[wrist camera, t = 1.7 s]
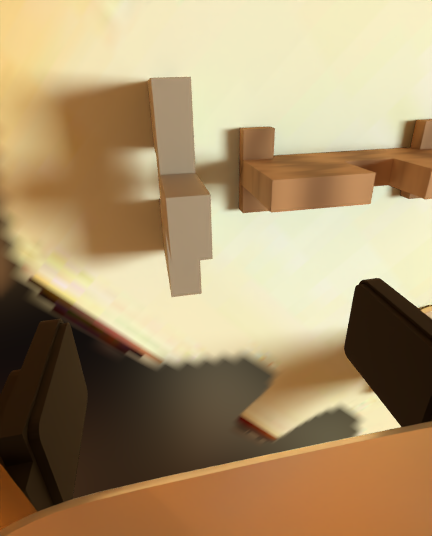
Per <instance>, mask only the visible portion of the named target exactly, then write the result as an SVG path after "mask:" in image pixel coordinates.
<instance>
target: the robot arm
mask: <svg viewBox="0 0 432 536" xmlns="http://www.w3.org/2000/svg"><path fill="white" fill-rule="evenodd" d="M344 350H345V354H346V356H347V358H348V359H349V360H350V361H351V363H352V364H353V365H354V367H355V368H356V369H357V370H358V372H359V373H360V374H361V376H362V377H363V378H364V379H365V381H366V382H367V383H368V385H369V386H370V387H371V388H372V390H373V391H374V392H375V393H376V395H377V396H378V397H379V399H380V400H381V401H382V402H383V404H384V405H385V406H386V408H387V409H388V410H389V411H390V413H391V414H392V415H393V416H394V418H395V419H396V420H397V422H398V423H399V424H400V425H401V427H400V428H395V429H390V430H385V431H380V432H375V433H370V434H365V435H360V436H356V437H351V438H346V439H341V440H336V441H331V442H327V443H322V444H317V445H313V446H307V447H303V448H298V449H293V450H288V451H284V452H279V453H274V454H269V455H264V456H259V457H255V458H250V459H245V460H241V461H236V462H231V463H227V464H222V465H218V466H213V467H208V468H203V469H199V470H194V471H189V472H185V473H180V474H175V475H171V476H166V477H162V478H157V479H153V480H148V481H144V482H140V483H135V484H131V485H127V486H122V487H118V488H114V489H110V490H105V491H101V492H97V493H94V494H90V495H86V496H83V497H79V498H76V499H73V493H74V485H75V479H76V473H77V466H78V459H79V453H80V446H81V439H82V433H83V426H84V419H85V412H86V407H87V399H88V397H87V396H88V395H87V387H86V383H85V379H84V375H83V372H82V368H81V364H80V360H79V356H78V352H77V348H76V345H75V341H74V337H73V333H72V329H71V326H70V324H69V323H63V321H62V319H56V320H49V321H42V322H40V323H39V325H38V328H37V331H36V333H35V335H34V338H33V340H32V343H31V345H30V348H29V350H28V353H27V355H26V358H25V360H24V363H23V365H22V368H21V369H19V370H14V371H12V372H11V373H10V375H9V376H8V379H7V381H6V383H5V385H4V388H3V390H2V392H1V395H0V536H432V306H430V307H427V308H424V309H421V310H420V309H418V308H417V307H416V306H414V305H413V304H412V303H411V302H409V301H408V300H407V299H406V298H404V297H403V296H402V295H400V294H399V293H398V292H397V291H395V290H394V289H393V288H392V287H390V286H389V285H388V284H386V283H385V282H384V281H383V280H381V279H379V278H375V279H367V280H362V281H361V282H360V283H359V285H357V286H356V287H355V291H354V297H353V302H352V307H351V313H350V318H349V324H348V329H347V335H346V340H345V346H344Z"/></svg>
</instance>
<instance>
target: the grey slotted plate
mask: <svg viewBox="0 0 432 536" xmlns="http://www.w3.org/2000/svg"><path fill="white" fill-rule="evenodd" d="M148 90H149V100H150V111H151V121H152V131H153V141H154V149H155V152H156V157H157V167H158V178H159V188H160V198H161V199H159V202H160V212H161V222H162V232H163V242H164V251H165V257H166V264H167V270H168V277H169V283H170V289H171V296H172V297H176V296H184V295H192V294H201V273H200V260H206V259H212V230H211V199H210V193H209V192H208V190H207V189H206V187H205V186H204V185H203V183H202V182H201V180H200V179H199V177H198V176H197V174H196V172H195V152H194V132H193V112H192V92H191V77H167V78H150V79H149V80H148Z"/></svg>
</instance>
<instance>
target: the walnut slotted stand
mask: <svg viewBox="0 0 432 536" xmlns="http://www.w3.org/2000/svg"><path fill="white" fill-rule="evenodd" d="M274 133H275V128H272V127H253V128H240V159H239V209H240V210H241V211H242V213H248V212H260V211H270V212H281V211H293V210H305V209H316V208H328V207H339V206H351V205H363V204H371V198H372V192H373V187H374V186H383V185H389V186H392V187H395V188H397V189H400V190H401V194H400V195H401V196H403V197H406V198H408V199H412V198H423V199H432V119H426V120H416V124H415V128H414V133H413V138H412V142H411V147H409V148H393V149H376V150H359V151H343V152H326V153H309V154H293V155H276V156H273V154H274Z"/></svg>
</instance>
